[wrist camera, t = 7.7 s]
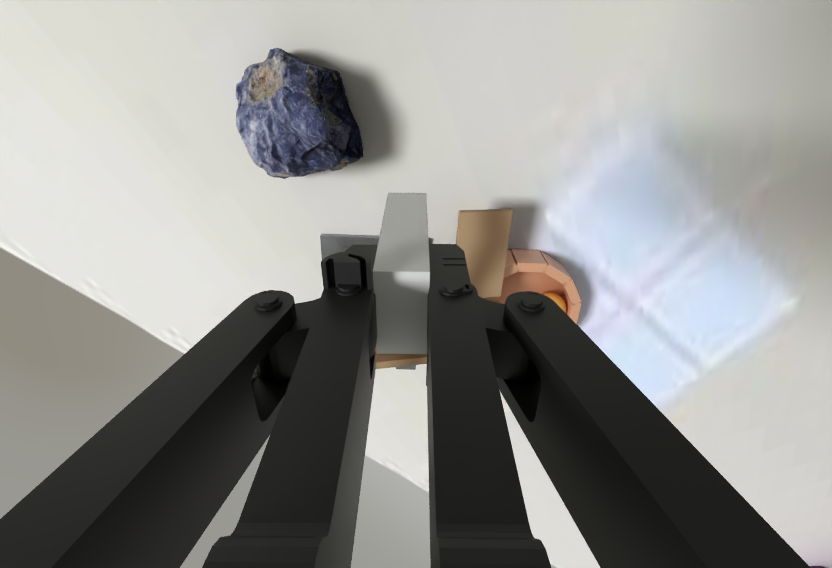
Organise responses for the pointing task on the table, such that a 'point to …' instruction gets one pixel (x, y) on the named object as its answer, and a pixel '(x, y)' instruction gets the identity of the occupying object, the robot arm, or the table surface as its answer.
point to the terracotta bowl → (539, 278)
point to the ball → (557, 300)
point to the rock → (295, 117)
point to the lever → (472, 264)
